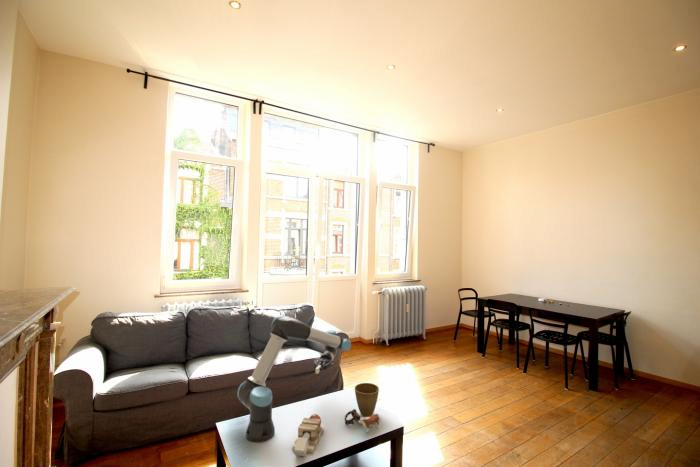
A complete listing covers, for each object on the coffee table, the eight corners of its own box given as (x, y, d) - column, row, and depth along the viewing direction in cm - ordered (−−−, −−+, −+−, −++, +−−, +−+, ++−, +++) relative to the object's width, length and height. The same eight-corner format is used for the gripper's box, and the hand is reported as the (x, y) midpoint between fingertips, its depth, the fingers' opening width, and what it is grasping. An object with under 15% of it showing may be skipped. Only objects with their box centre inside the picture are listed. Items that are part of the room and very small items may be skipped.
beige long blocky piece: (313, 453, 166) (313, 436, 166) (292, 450, 168) (292, 433, 168) (323, 431, 186) (323, 416, 186) (304, 428, 188) (305, 414, 188)
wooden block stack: (310, 448, 168) (310, 434, 169) (297, 446, 170) (297, 432, 170) (321, 427, 188) (321, 414, 188) (309, 426, 189) (309, 413, 189)
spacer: (305, 456, 163) (304, 451, 161) (295, 455, 164) (294, 449, 162) (308, 443, 168) (307, 438, 166) (299, 442, 169) (297, 437, 167)
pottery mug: (363, 429, 189) (357, 418, 187) (348, 435, 190) (342, 424, 188) (363, 413, 200) (357, 403, 199) (349, 419, 202) (343, 408, 200)
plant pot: (351, 410, 209) (351, 384, 210) (373, 406, 214) (373, 381, 214) (359, 422, 195) (359, 394, 196) (382, 418, 200) (382, 391, 200)
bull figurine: (357, 431, 186) (357, 416, 186) (376, 424, 193) (376, 410, 193) (361, 435, 182) (362, 420, 182) (381, 428, 189) (381, 413, 190)
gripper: (336, 365, 219) (327, 378, 196) (317, 363, 222) (306, 376, 198) (336, 353, 220) (327, 365, 196) (317, 351, 222) (306, 363, 199)
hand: (316, 371), depth 197 cm, fingers closed
